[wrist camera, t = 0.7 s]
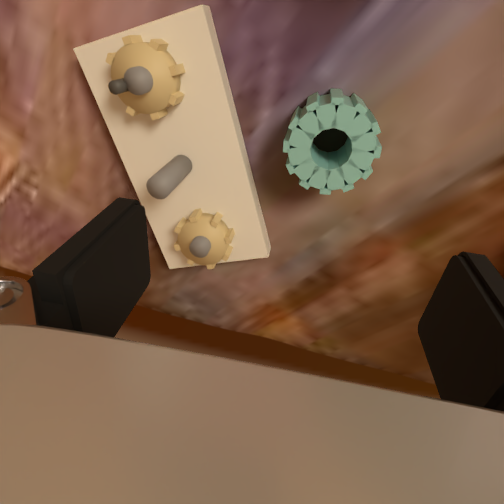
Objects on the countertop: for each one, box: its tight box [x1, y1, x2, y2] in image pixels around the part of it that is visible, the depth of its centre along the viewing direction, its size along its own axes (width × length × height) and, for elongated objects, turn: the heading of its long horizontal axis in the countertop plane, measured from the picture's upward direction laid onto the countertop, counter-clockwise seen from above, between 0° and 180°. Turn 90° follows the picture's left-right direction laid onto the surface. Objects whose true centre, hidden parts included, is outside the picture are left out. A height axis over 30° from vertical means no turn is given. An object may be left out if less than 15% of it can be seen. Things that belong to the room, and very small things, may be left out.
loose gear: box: [283, 88, 382, 195], centre depth 30 cm, size 8×8×5 cm
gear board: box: [73, 5, 271, 269], centre depth 32 cm, size 12×23×8 cm, turn 14°
